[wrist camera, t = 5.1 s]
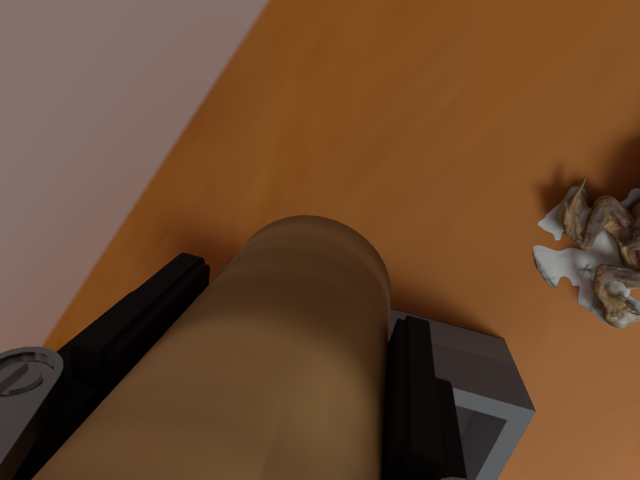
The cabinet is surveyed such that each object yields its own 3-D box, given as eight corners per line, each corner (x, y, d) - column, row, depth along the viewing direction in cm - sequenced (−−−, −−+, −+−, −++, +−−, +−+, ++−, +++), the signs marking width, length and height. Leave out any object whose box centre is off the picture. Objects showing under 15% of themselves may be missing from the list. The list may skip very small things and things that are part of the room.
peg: (246, 197, 12) (-586, 861, 2) (411, 240, 11) (471, 1423, 1) (229, 329, 14) (-205, 977, 4) (368, 370, 13) (270, 1218, 4)
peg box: (263, 273, 26) (229, 323, 21) (504, 339, 25) (535, 411, 20) (237, 424, 32) (205, 495, 26) (434, 484, 30) (443, 573, 25)
